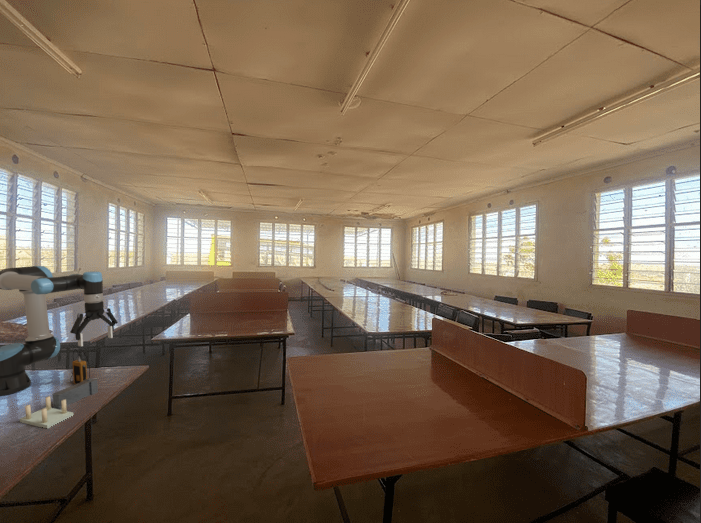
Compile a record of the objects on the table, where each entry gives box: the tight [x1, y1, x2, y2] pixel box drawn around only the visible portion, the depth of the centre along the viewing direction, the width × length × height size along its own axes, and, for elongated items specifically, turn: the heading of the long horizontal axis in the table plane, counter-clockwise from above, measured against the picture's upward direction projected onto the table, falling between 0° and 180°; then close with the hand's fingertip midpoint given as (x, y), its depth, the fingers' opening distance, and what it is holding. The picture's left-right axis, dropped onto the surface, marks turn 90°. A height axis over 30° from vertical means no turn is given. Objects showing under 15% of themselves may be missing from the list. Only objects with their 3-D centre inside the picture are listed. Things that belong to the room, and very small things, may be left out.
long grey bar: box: [52, 377, 99, 410], centre depth 155 cm, size 17×6×7 cm, turn 166°
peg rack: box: [19, 396, 74, 430], centre depth 139 cm, size 17×10×8 cm, turn 76°
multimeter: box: [69, 349, 98, 385], centre depth 174 cm, size 15×10×20 cm
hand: (96, 341), depth 161 cm, fingers open, 13 cm apart
